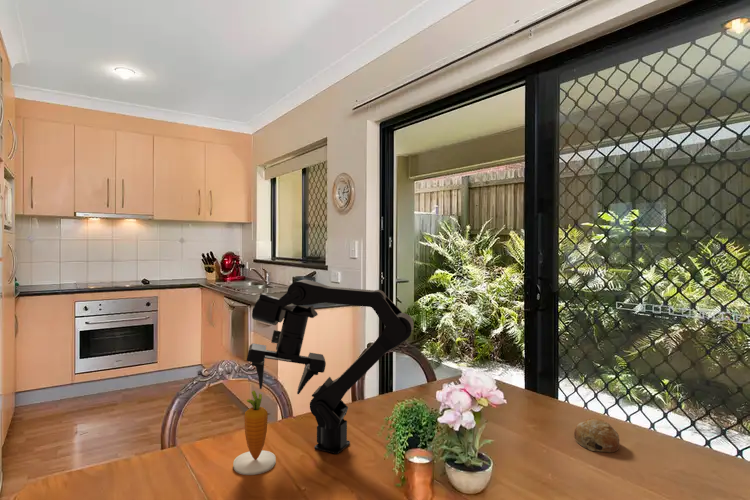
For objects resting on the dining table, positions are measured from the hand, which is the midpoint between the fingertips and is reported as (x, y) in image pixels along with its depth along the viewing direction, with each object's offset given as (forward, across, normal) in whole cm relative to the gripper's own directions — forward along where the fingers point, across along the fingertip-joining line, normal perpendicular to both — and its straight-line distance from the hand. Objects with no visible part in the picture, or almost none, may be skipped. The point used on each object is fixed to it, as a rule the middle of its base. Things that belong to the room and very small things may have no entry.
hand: (279, 391), depth 109 cm
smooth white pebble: (+12, +3, +12) cm, 17 cm away
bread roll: (-5, -78, +17) cm, 80 cm away
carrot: (+12, +3, +11) cm, 16 cm away
